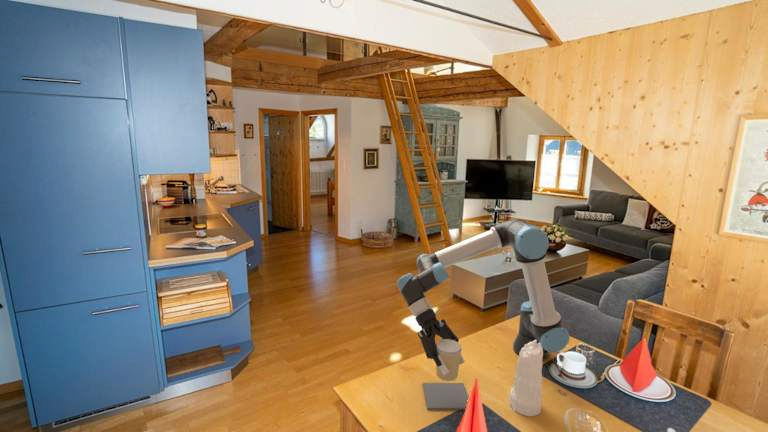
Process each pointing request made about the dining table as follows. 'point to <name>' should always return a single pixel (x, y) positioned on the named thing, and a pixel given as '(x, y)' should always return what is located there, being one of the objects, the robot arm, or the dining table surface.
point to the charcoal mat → (445, 396)
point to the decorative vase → (528, 381)
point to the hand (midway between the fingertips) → (454, 368)
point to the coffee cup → (449, 358)
